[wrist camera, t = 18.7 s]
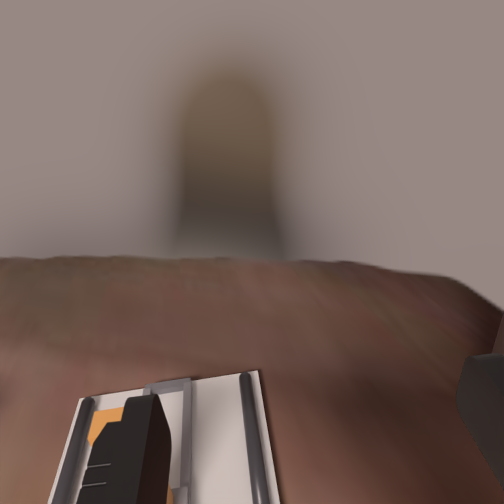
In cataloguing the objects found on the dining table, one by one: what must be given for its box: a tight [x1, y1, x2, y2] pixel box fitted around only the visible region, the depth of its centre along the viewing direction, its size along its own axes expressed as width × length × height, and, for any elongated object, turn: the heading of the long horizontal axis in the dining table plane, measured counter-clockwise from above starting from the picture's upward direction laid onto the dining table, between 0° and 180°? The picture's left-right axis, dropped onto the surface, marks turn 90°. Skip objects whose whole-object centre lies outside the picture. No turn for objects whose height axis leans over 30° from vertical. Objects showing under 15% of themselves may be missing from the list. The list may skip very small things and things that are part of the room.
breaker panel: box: [48, 371, 280, 504], centre depth 38 cm, size 20×18×3 cm
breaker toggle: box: [87, 407, 188, 504], centre depth 29 cm, size 5×3×12 cm, turn 97°
